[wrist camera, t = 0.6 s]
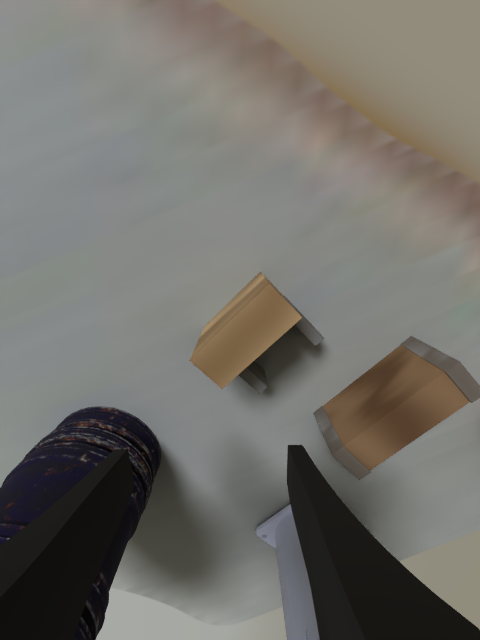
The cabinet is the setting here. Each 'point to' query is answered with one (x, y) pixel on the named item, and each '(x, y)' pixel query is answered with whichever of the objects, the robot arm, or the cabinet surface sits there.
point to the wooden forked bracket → (247, 334)
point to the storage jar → (66, 471)
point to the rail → (394, 405)
